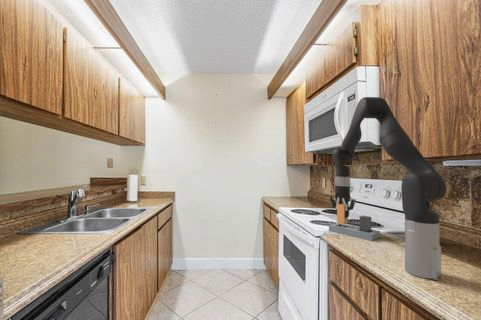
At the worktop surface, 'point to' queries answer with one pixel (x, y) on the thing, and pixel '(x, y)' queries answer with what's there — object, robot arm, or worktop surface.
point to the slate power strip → (357, 229)
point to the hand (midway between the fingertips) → (342, 216)
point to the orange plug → (341, 214)
